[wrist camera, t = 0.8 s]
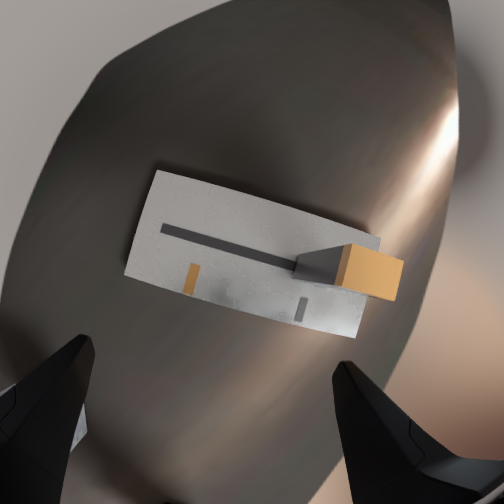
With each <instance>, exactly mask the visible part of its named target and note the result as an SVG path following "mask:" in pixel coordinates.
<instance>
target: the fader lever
mask: <svg viewBox="0 0 504 504" xmlns="http://www.w3.org/2000/svg"><path fill="white" fill-rule="evenodd" d="M403 263H404V261H402V260H399V259H396V258H394V257H391V256H388V255H385V254H382V253H379V252H376V251H374V250H371V249H368V248H365V247H362V246H359V245H356V244H353V243H352V244H347V245H342V246H337V247H332V248H327V249H322V250H317V251H312V252H307V253H302V254H299V257H298V261H297V264H296V268H295V271H294V275H293V279H295V280H298V281H302V282H306V283H309V284H313V285H316V286H320V287H324V288H327V289H332V290H338V291H343V292H348V293H353V294H358V295H364V296H369V297H374V298H380V299H385V300H391V301H395V298H396V294H397V289H398V285H399V281H400V277H401V272H402V268H403Z"/></svg>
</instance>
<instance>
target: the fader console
mask: <svg viewBox="0 0 504 504" xmlns="http://www.w3.org/2000/svg"><path fill="white" fill-rule="evenodd" d="M380 240H381V238H379V237H376V236H374V235H371V234H368V233H365V232H363V231H360V230H357V229H354V228H351V227H348V226H346V225H343V224H340V223H337V222H334V221H331V220H328V219H325V218H322V217H319V216H316V215H313V214H310V213H307V212H304V211H301V210H298V209H295V208H291V207H288V206H285V205H282V204H279V203H275V202H272V201H269V200H266V199H262V198H259V197H256V196H252V195H249V194H245V193H242V192H239V191H235V190H232V189H228V188H225V187H221V186H217V185H214V184H210V183H206V182H203V181H199V180H195V179H191V178H188V177H184V176H180V175H176V174H172V173H168V172H164V171H160V170H157V172H156V174H155V177H154V180H153V183H152V185H151V188H150V191H149V194H148V197H147V200H146V203H145V206H144V209H143V212H142V215H141V218H140V221H139V224H138V227H137V231H136V234H135V237H134V241H133V244H132V248H131V251H130V255H129V258H128V262H127V266H126V270H125V274H124V275H126V276H129V277H132V278H135V279H138V280H141V281H144V282H147V283H150V284H153V285H156V286H159V287H162V288H166V289H169V290H172V291H175V292H178V293H181V294H185V295H188V296H191V297H195V298H198V299H201V300H205V301H208V302H211V303H215V304H218V305H222V306H225V307H229V308H232V309H236V310H240V311H243V312H247V313H251V314H255V315H258V316H262V317H266V318H270V319H274V320H278V321H282V322H286V323H290V324H294V325H298V326H302V327H306V328H311V329H315V330H319V331H324V332H328V333H333V334H337V335H342V336H346V337H351V338H355V337H356V334H357V331H358V327H359V324H360V321H361V317H362V314H363V310H364V307H365V303H366V300H367V296H364V295H358V294H353V293H348V292H343V291H338V290H332V289H327V288H324V287H320V286H316V285H313V284H309V283H306V282H302V281H298V280H295V279H293V275H294V271H295V268H296V264H297V261H298V257H299V254H302V253H307V252H312V251H317V250H322V249H327V248H332V247H337V246H342V245H347V244H352V243H353V244H356V245H359V246H362V247H365V248H368V249H371V250H374V251H376V252H378V250H379V245H380Z"/></svg>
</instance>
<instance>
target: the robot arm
mask: <svg viewBox="0 0 504 504" xmlns="http://www.w3.org/2000/svg"><path fill="white" fill-rule="evenodd" d="M94 358H95V350H94V347H93V343H92V340H91V337H90V336H88V335H83V334H79V335H78V336H76V337H75V338H74V339H72V340H71V341H70V342H68V343H67V344H66V345H64V346H63V347H62V348H60V349H59V350H58V351H57V352H55V353H54V354H53V355H51V356H50V357H49V358H48V359H46V360H45V361H44V362H43V363H41V364H40V365H39V366H37V367H36V368H35V369H34V370H32V371H31V372H30V373H29V374H27V375H26V376H25V377H24V378H22V379H21V380H20V381H19V382H17V383H16V385H14V386H12V387H11V388H10V389H9V390H8V391H6V392H5V393H4V394H2V395H1V396H0V504H60V498H61V492H62V487H63V481H64V476H65V472H66V467H67V463H68V458H69V454H70V450H71V446H72V442H73V439H74V435H75V431H76V428H77V424H78V421H79V417H80V414H81V410H82V407H83V404H84V401H85V398H86V394H87V390H88V386H89V381H90V376H91V371H92V367H93V363H94ZM332 385H333V394H334V404H335V413H336V419H337V423H338V428H339V433H340V438H341V443H342V448H343V453H344V458H345V463H346V468H347V473H348V479H349V484H350V490H351V495H352V501H353V503H354V504H504V460H503V461H496V460H480V459H469V458H463V457H459V456H457V455H455V454H453V453H452V452H451V451H449V450H448V449H447V448H445V447H444V446H443V445H441V444H440V443H439V442H437V441H436V440H435V439H434V438H432V437H431V436H430V435H429V434H427V433H426V432H425V431H424V430H423V429H422V428H421V427H420V426H418V425H417V424H416V423H415V422H414V421H413V420H412V419H410V417H409V416H407V414H406V413H405V412H403V410H401V408H400V407H398V406H397V405H396V404H395V403H394V402H393V401H392V400H391V399H390V398H389V397H388V396H387V395H386V394H385V393H384V392H383V391H382V390H381V389H380V388H379V387H378V386H377V385H376V384H375V383H374V382H373V381H372V380H371V379H370V378H369V377H367V376H366V375H365V374H364V373H363V372H362V371H361V370H360V369H359V368H358V367H357V366H356V365H355V364H354V363H353V362H352V361H349V360H348V361H340V362H339V364H338V366H337V368H336V369H335V371H334V373H333V375H332ZM164 504H169V503H164Z"/></svg>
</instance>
